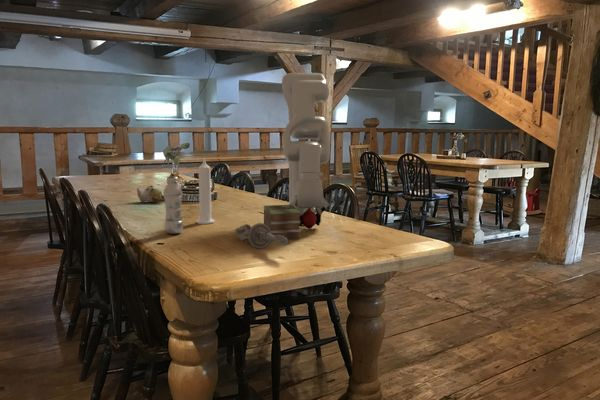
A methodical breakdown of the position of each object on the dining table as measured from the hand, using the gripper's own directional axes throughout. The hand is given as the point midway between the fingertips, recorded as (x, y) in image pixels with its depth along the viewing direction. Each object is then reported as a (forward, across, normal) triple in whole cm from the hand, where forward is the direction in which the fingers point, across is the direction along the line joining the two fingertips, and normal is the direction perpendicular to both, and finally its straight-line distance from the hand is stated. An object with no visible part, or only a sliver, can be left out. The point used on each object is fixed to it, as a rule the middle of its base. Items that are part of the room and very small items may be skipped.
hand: (308, 224), depth 184 cm
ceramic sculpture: (+2, +54, -80) cm, 96 cm away
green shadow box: (+2, +13, +9) cm, 16 cm away
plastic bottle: (+2, +48, -6) cm, 48 cm away
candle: (+2, +35, -23) cm, 42 cm away
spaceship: (+2, +24, +22) cm, 32 cm away
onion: (+2, 0, 0) cm, 2 cm away
